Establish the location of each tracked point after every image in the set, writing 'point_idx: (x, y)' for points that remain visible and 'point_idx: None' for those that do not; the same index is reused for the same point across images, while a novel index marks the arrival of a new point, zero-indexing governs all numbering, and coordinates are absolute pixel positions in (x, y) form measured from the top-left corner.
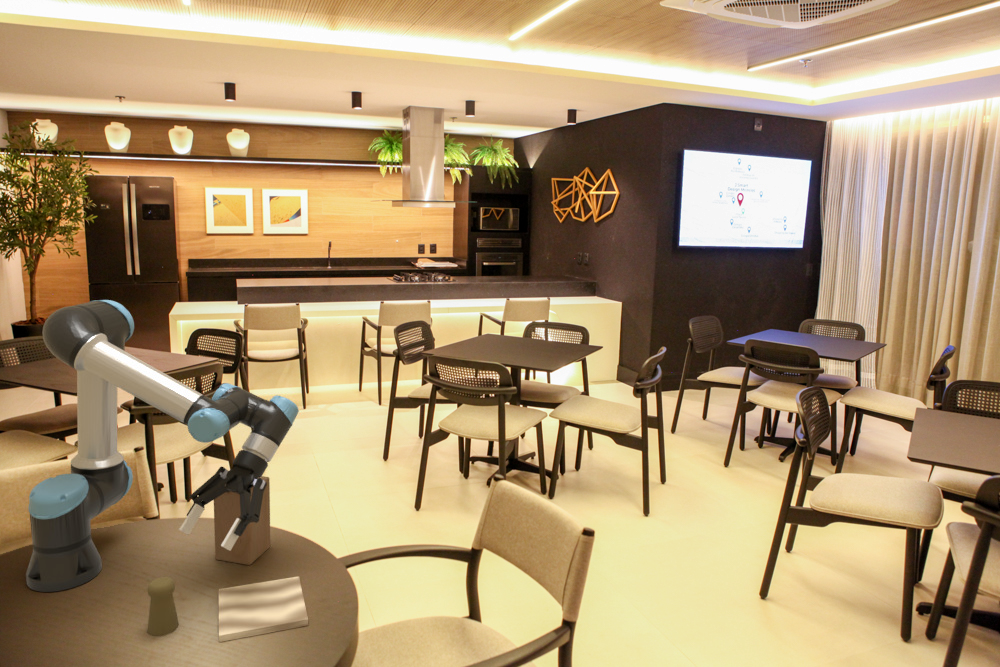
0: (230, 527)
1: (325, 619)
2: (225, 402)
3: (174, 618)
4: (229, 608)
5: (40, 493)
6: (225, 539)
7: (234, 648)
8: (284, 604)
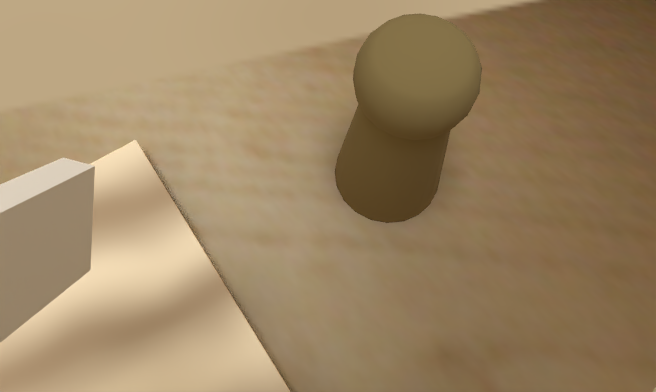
0: None
1: None
2: None
3: (342, 156)
4: (179, 300)
5: None
6: (34, 185)
7: (75, 139)
8: None
